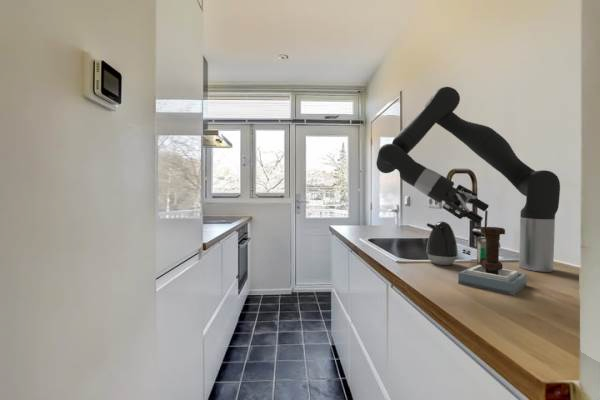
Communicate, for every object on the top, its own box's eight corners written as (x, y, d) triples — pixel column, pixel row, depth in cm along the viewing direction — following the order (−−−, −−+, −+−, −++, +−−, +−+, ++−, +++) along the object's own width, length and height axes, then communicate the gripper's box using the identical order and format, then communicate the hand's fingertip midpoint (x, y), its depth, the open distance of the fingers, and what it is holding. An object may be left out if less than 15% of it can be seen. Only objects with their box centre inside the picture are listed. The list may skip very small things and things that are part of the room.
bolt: (506, 284, 81) (507, 229, 81) (485, 283, 82) (486, 228, 82) (497, 278, 87) (498, 226, 87) (477, 277, 88) (478, 226, 88)
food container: (502, 275, 94) (503, 243, 94) (480, 272, 97) (480, 241, 96) (496, 266, 105) (497, 238, 105) (476, 264, 108) (477, 236, 108)
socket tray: (474, 275, 94) (475, 263, 94) (526, 285, 84) (526, 271, 84) (458, 283, 85) (458, 269, 85) (513, 295, 75) (513, 280, 75)
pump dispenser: (422, 259, 115) (423, 219, 114) (451, 261, 113) (453, 220, 112) (429, 266, 105) (430, 222, 104) (461, 267, 103) (462, 223, 102)
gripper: (434, 186, 101) (481, 213, 95) (419, 203, 92) (470, 234, 86) (446, 168, 96) (496, 195, 90) (431, 184, 87) (487, 216, 81)
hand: (484, 214), depth 88 cm, fingers open, 8 cm apart
